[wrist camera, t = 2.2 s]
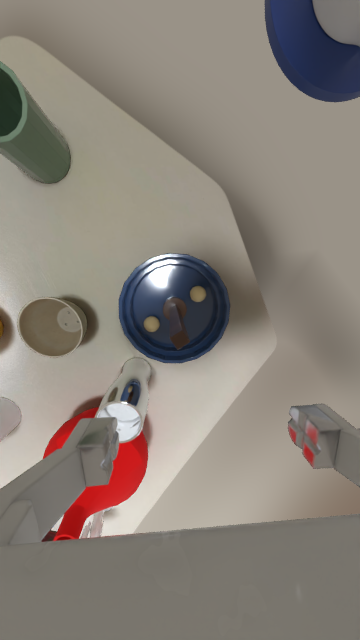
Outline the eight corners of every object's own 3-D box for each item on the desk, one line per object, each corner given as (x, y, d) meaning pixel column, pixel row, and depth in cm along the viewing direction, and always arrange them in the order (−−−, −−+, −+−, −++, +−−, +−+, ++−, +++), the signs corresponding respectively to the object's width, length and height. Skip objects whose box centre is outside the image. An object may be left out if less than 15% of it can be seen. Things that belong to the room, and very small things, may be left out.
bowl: (189, 236, 36) (192, 229, 31) (238, 320, 39) (248, 326, 35) (105, 293, 37) (95, 295, 32) (161, 369, 41) (160, 381, 36)
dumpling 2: (199, 282, 37) (201, 282, 34) (207, 295, 37) (210, 297, 34) (186, 291, 37) (187, 292, 34) (194, 304, 38) (196, 306, 35)
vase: (162, 405, 43) (157, 504, 24) (136, 470, 46) (113, 602, 27) (80, 381, 40) (3, 469, 22) (58, 450, 44) (-25, 579, 25)
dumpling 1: (154, 311, 38) (153, 314, 35) (162, 324, 38) (162, 328, 35) (141, 320, 38) (139, 323, 35) (150, 332, 38) (148, 336, 35)
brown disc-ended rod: (177, 292, 37) (187, 307, 17) (189, 311, 38) (212, 346, 18) (158, 304, 37) (146, 333, 17) (171, 323, 38) (173, 370, 18)
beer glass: (159, 366, 41) (154, 416, 26) (142, 391, 42) (127, 452, 27) (131, 349, 39) (109, 390, 25) (114, 375, 40) (82, 430, 26)
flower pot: (35, 325, 37) (5, 335, 30) (62, 283, 36) (36, 284, 29) (81, 353, 39) (62, 369, 32) (108, 314, 38) (94, 321, 31)
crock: (47, 114, 31) (-10, 37, 21) (80, 165, 32) (42, 115, 23) (7, 145, 31) (-66, 84, 21) (42, 193, 33) (-12, 157, 23)
